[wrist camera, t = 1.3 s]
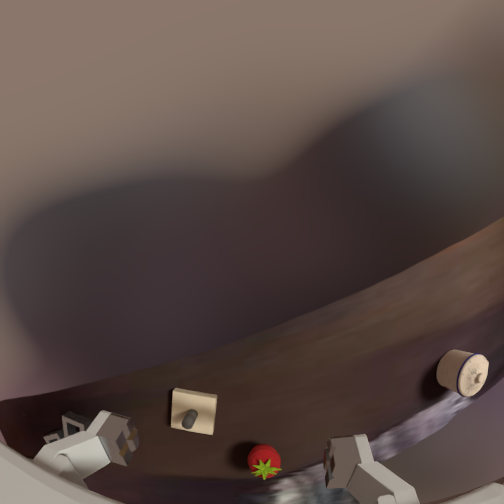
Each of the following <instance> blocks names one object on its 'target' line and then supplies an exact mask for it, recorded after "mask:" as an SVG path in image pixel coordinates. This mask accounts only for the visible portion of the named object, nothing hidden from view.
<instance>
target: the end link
mask: <svg viewBox="0 0 504 504" xmlns="http://www.w3.org/2000/svg"><path fill="white" fill-rule="evenodd" d="M62 422H63V430H64V437H65V438H66V437H68V436H71V435H73V434H76V433H78V432H81V431H85V432H86V430H87V429H88V428H89V426H90V425H91V423H92V421H91V419H89V418H87V417H84V416H81V415H79V414H76V413H74V412H71V411H69V412H67V413H65V414H64V415H62ZM75 426H77V427H80V431H77V430H76V429H75Z"/></svg>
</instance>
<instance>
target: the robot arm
mask: <svg viewBox="0 0 504 504" xmlns="http://www.w3.org/2000/svg"><path fill="white" fill-rule="evenodd" d="M134 426H135V421H134V419H132V418H128V417H125V416H121V415H118V414H115V413H111V412H108V411H105V410H103V411H101V412H100V413H99V414H98V415H97V417H96V418H95V419H94V421H93V422H92V423H91V425H90V426H89V428H88V429H87V430H86V432H85V431H81V432H78V433H76V434H73V435H71V436H68V437H66V438H63V439H60V440H58V441H55V442H52V443H50V444H47V445H44V447H43V448H42V449H41V450H40V451H39V453H38V454H37V455H36V456H35V458H34V459H33V460H32V461H31V460H29V459H28V458H26V457H24V456H23V455H21V454H20V453H18V452H16V451H15V450H13V449H12V448H10V447H9V446H7V445H6V444H5V443H3V442H1V441H0V504H124V503H121V502H119V501H116V500H113V499H110V498H108V497H105V496H102V495H100V494H97V493H95V492H92V491H90V490H88V487H87V486H86V484H85V483H84V481H83V480H82V479H84V478H85V477H87V476H89V475H91V474H92V473H94V472H96V471H97V470H99V469H100V468H102V467H104V466H105V465H107V464H109V463H110V461H111V462H114V463H118V464H121V465H125V466H128V464H129V462H130V460H131V458H132V453H131V452H132V451H134V450H136V448H137V446H138V444H139V433H138V431H137V430H136V429H135V428H134ZM327 445H328V448H326V449H325V452H324V459H323V460H324V469H325V470H326V471H327V472H326V475H325V481H326V489H330V488H345V487H347V489H348V491H349V492H350V493H351V494H352V495H353V496H354V497H355V498H356V499H357V500H358V501H359V502H360V503H361V504H419V501H418V498H417V495H416V492H415V489H414V488H413V487H412V486H410V485H409V484H407V483H406V482H405V481H403V480H402V479H400V478H399V477H398V476H396V475H395V474H394V473H392V472H391V471H389V470H388V469H387V468H385V467H384V466H383V465H381V464H380V463H379V462H374V460H373V457H372V453H371V450H370V446H369V443H368V440H367V436H366V435H365V434H361V435H349V436H337V437H329V438H328V441H327ZM441 504H504V485H501V484H497V483H490V484H487V485H485V486H483V487H481V488H478V489H476V490H474V491H472V492H469V493H467V494H465V495H462V496H460V497H457V498H455V499H452V500H449V501H447V502H444V503H441Z"/></svg>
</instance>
